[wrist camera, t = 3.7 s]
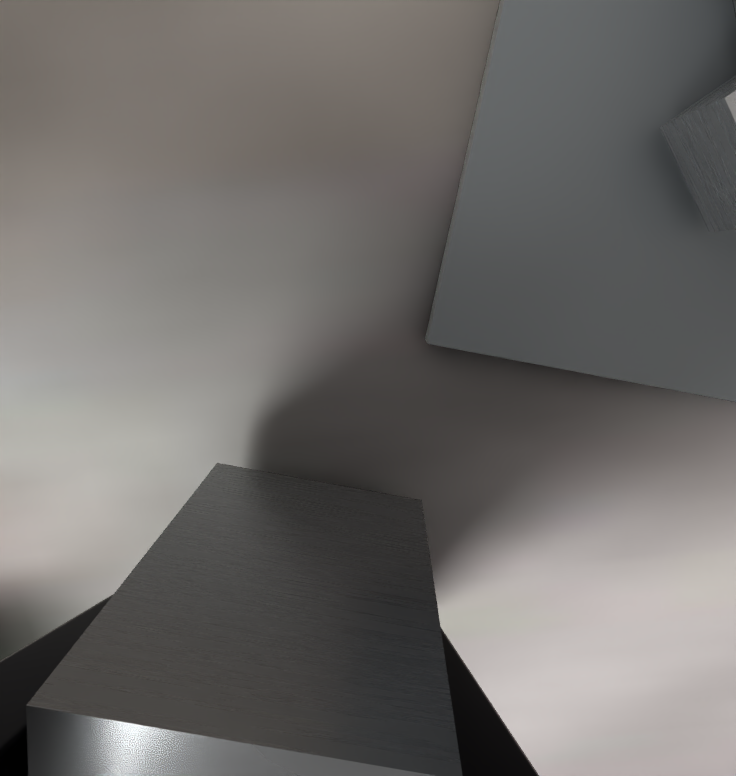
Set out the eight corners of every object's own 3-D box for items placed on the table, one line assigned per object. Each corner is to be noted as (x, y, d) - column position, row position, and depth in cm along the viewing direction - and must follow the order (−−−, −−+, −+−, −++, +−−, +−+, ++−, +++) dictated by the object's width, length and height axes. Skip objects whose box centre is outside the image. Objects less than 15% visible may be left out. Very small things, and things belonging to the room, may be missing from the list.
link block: (200, 629, 10) (27, 982, 5) (217, 462, 9) (17, 717, 4) (382, 661, 10) (380, 1039, 5) (421, 500, 9) (465, 793, 4)
